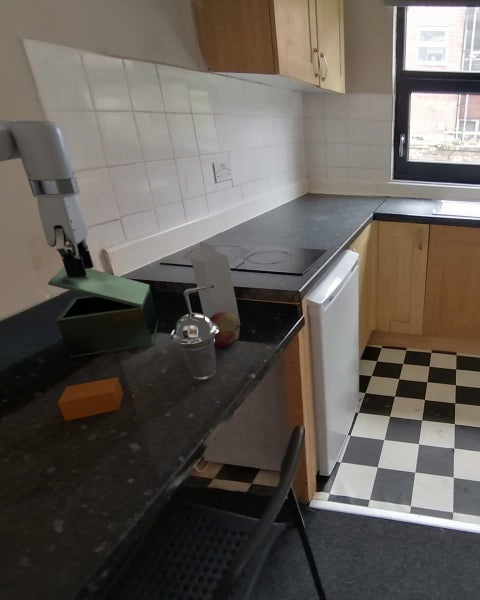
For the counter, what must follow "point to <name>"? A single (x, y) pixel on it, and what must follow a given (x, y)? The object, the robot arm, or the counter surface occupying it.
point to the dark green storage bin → (107, 326)
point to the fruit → (226, 329)
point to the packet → (91, 398)
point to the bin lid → (103, 286)
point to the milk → (214, 281)
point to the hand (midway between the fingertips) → (81, 271)
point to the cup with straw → (197, 340)
